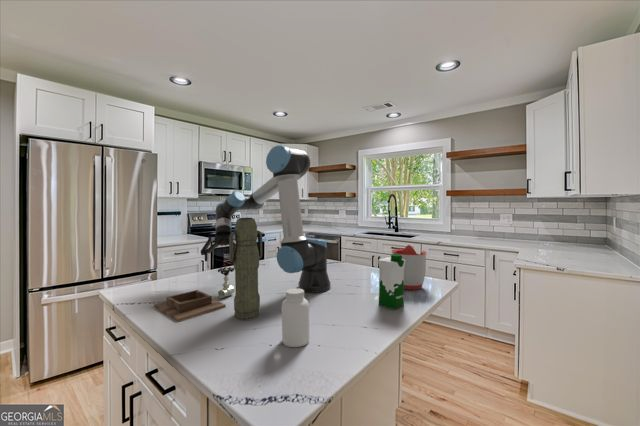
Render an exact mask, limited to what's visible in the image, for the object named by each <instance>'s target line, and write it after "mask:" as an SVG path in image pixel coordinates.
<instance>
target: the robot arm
mask: <svg viewBox="0 0 640 426" xmlns="http://www.w3.org/2000/svg"><path fill="white" fill-rule="evenodd" d="M265 159H266V160H265V165H266V168H267V169H268V170H269V172H271V173H272V177H271V178H270V179H268V180H267V181H266V182H265V183H264V184H262V185H261V186H260V187H258V188H257V190H255V191H253V192H252V193H251V194H249V195H244V194H243V193H242V192H239V191H237V190H235V191H232V192H231V193H230V194H229V195H228V196H227V198H226V199H225V200H224V201H223V202H220V203H217V205H216V207H215V236H211V235H209V236H208V239H207V241H206V242H205V244H204V245H203V247H202V249H201V250H200V256H204V262H206V267H207V270H208V269H210V254H211V253H212V252H213V251H214V250H215V249H216V248H218V247H219V246H222V247H223V246H229V235H230V234H231V232H233V230H232V216H233V215H235V213H236V212H237V211H247V210H248V211H249V210H254V211H256V210H261V209H262V208H263V207H264V204H265V203H266V202H267V201H268V200H269V199H271V198H272V197H274V196H275V195H276V194H278V198H279V206H280V214H281V215H280V217H281V224H282V225H281V226H282V235H283V238H282V239H281V241H280V248H279V249H278V250H277V252H276V261H277V264H278V266H279V267H280V269H282V271H283V272H285V273H287V274H295V273H299V272H301V274H300V277H299V281H298V283H297V284H298V287H297V288H298V289H303V290H304V293H305V292H307V293H321V292H326V291H329V290H330V289H331V284H332V283H331V281H330V278H329V274H328V269H327V268H328V266H327V265H328V263H327V262H328V261H327V260H328V256H327V255H328V247H327V241H326V240H325V239H320V238H319V239H318V238H308V237H306V236H305V235H304V229H303V227H304V226H303V220H302V219H303V218H302V210H301V200H300V192H299V184H298V181H299V180H300V179H301V178H303V177H304V176H305V175H306V174H307V173H308V171H309V170H310V168H311V158H310V156H309V154H308V153H307V152H306V151H305V150H303V149H299V148H295V147H291V146H287V145H281V144H280V145H275V146H272V148H270V150H269V152H268V153H267V156H266V158H265ZM234 241H235V235H234V236H233V250H235V244H236V242H234ZM211 244H212V245H211Z"/></svg>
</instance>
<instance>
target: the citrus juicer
mask: <svg viewBox="0 0 640 426" xmlns="http://www.w3.org/2000/svg"><path fill="white" fill-rule="evenodd" d="M391 252H392V254H399V255H402V259H403V260H405V267H404V290H407V291H412V290H414V291H415V290H419V289H421V288H422V287H423V285H424V281H425V278H426V272H427V271H426V266H427V265H426V264H427V255H426V254H427V251H425V250H422V251H420V253H417V252H416V250H415V249H414V248H413V246H411V245H410V244H408V245H406V246H405V247H404V248H394V249H392V250H391ZM392 254H391V255H392Z"/></svg>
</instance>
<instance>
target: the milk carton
mask: <svg viewBox="0 0 640 426" xmlns="http://www.w3.org/2000/svg"><path fill="white" fill-rule="evenodd" d="M377 263H378V268H379V270H378V272H379V274H378V276H379V278H378V280H379V281H378V282H379V283H378V286H379V287H378V288H379V289H378V291H379V292H378V306H381V307H385V308H388V309H391V310H396V309H399V308H400V307H403V306H404V305H405V299H404V298H405V297H404V296H405V295H404V290H405V289H404V267H405V260H403V259H402V255H399V254H390V256H388V257H384V258H381V259H377Z"/></svg>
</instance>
